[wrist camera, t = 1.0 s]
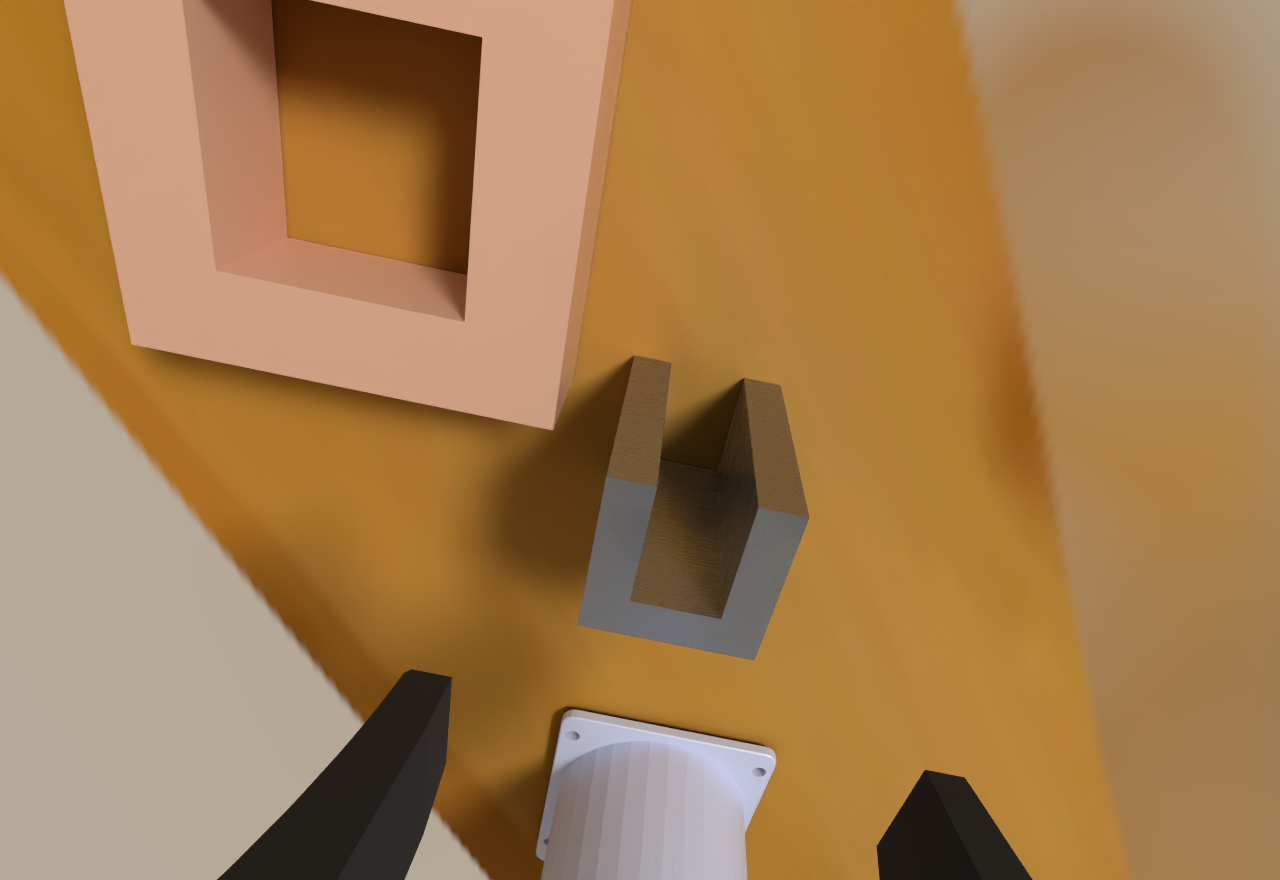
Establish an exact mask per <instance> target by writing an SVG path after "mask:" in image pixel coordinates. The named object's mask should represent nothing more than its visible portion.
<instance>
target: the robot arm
mask: <svg viewBox="0 0 1280 880" xmlns="http://www.w3.org/2000/svg"><path fill="white" fill-rule="evenodd" d="M451 682H452V677H448V676H443V675H437V674H432V673H427V672H422V671H417V670H412V669H411V670H409V671H407V672H405V673H404V674H403V675H402V676H401V678H400V679H399V680H398V682H397V683H396V684H395V686H394V687H393V688H392V690H391V691H390V692H389V694H388V695H387V696H386V698H385V699H384V700H383V701H382V703H381V704H380V705H379V706H378V708H377V709H376V710H375V711H374V713H373V714H372V715H371V716H370V718H369V719H368V720H367V721H366V722H365V724H364V725H363V726H362V727H361V728H360V730H359V731H358V732H357V733H356V734H355V736H354V737H353V738H352V739H351V740H350V742H348V744H347V745H346V746H345V747H344V748H343V750H342V751H341V752H340V753H339V754H338V755H337V756H336V757H335V759H334V760H333V761H332V762H331V763H330V764H329V765H328V766H327V767H326V768H325V770H324V771H323V772H322V773H321V774H320V775H319V776H318V777H317V779H315V780H314V782H313V783H312V784H311V785H310V786H309V787H308V788H307V789H306V790H305V792H304V793H303V794H302V795H301V796H300V797H299V798H298V799H297V800H296V801H295V803H294V804H292V806H291V807H290V808H289V809H288V810H287V811H286V812H285V813H284V814H283V815H282V816H281V817H280V818H279V819H278V820H277V821H276V822H275V823H274V824H273V825H272V826H271V827H270V828H269V829H268V830H267V831H266V832H265V833H264V834H263V835H262V836H261V837H260V838H259V839H258V840H257V841H256V842H255V843H254V844H253V845H252V846H251V847H250V848H249V849H248V850H247V851H246V852H245V853H244V854H243V855H242V856H241V857H240V858H239V859H238V860H237V861H236V862H235V863H234V864H233V865H232V866H231V867H230V868H229V869H228V870H227V871H226V872H225V873H224V874H223V875H222V876H221V877H220V878H219V879H217V880H404V879H405V877H406V874H407V872H408V870H409V867H410V865H411V862H412V860H413V858H414V855H415V853H416V850H417V848H418V846H419V843H420V841H421V839H422V836H423V834H424V830H425V827H426V824H427V821H428V818H429V815H430V812H431V809H432V806H433V803H434V799H435V796H436V793H437V790H438V787H439V783H440V780H441V777H442V774H443V771H444V767H445V764H446V754H447V739H448V725H449V711H450V696H451ZM775 766H776V755H775V753H774V751H773V750H772V749H770V748H768V747H765V746H759V745H754V744H749V743H744V742H739V741H734V740H729V739H724V738H719V737H714V736H709V735H704V734H698V733H693V732H688V731H683V730H678V729H673V728H668V727H663V726H658V725H653V724H648V723H643V722H637V721H632V720H627V719H622V718H617V717H612V716H607V715H602V714H597V713H592V712H587V711H582V710H569V711H567V712H565V713H564V715H563V717H562V722H561V727H560V732H559V737H558V742H557V747H556V752H555V757H554V762H553V767H552V772H551V777H550V782H549V787H548V792H547V798H546V803H545V808H544V813H543V818H542V823H541V828H540V833H539V838H538V843H537V848H536V855H537V856H538V858H539V859H541V860H543V861H544V866H543V871H542V876H541V880H747V866H746V845H745V831H746V829H747V827H748V825H749V823H750V820H751V818H752V816H753V814H754V812H755V809H756V807H757V805H758V803H759V801H760V799H761V796H762V794H763V792H764V790H765V788H766V785H767V783H768V781H769V779H770V777H771V775H772V772H773V770H774V768H775ZM877 855H878V866H879V877H880V880H1032V878H1031V877H1030V875H1029V874H1028V872H1027V871H1026V869H1025V868H1024V866H1023V865H1022V863H1021V862H1020V860H1019V859H1018V857H1017V856H1016V854H1015V853H1014V851H1013V850H1012V848H1011V847H1010V845H1009V844H1008V842H1007V841H1006V839H1005V838H1004V836H1003V835H1002V833H1001V832H1000V830H999V828H998V827H997V825H996V824H995V822H994V821H993V819H992V818H991V816H990V815H989V813H988V812H987V810H986V809H985V807H984V806H983V804H982V803H981V801H980V800H979V798H978V797H977V795H976V794H975V792H974V791H973V789H972V788H971V786H970V785H969V783H968V782H967V780H966V779H965V778H964V777H959V776H954V775H949V774H944V773H939V772H933V771H928V770H925V771H924V772H923V774H922V775H921V777H920V779H919V780H918V782H917V783H916V785H915V787H914V788H913V790H912V791H911V793H910V794H909V796H908V798H907V799H906V801H905V802H904V804H903V806H902V807H901V809H900V810H899V812H898V813H897V815H896V817H895V818H894V820H893V821H892V823H891V825H890V826H889V828H888V829H887V831H886V832H885V834H884V836H883V837H882V839H881V840H880V842H879V844H878V845H877Z"/></svg>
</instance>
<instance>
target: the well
mask: <svg viewBox="0 0 1280 880" xmlns="http://www.w3.org/2000/svg"><path fill="white" fill-rule="evenodd" d="M312 1H317V2H322V3H326V4H331V5H335V6H340V7H345V8H349V9H354V10H359V11H363V12H368V13H372V14H377V15H382V16H386V17H391V18H396V19H400V20H405V21H409V22H414V23H419V24H423V25H428V26H433V27H437V28H442V29H447V30H451V31H456V32H460V33H465V34H470V35H474V36H479V37H482V52H481V68H480V84H479V100H478V116H477V132H476V148H475V164H474V180H473V196H472V212H471V228H470V244H469V260H468V275H465V274H460V273H456V272H451V271H446V270H441V269H436V268H432V267H427V266H422V265H417V264H412V263H408V262H403V261H398V260H393V259H389V258H384V257H379V256H374V255H369V254H365V253H360V252H355V251H350V250H345V249H341V248H336V247H331V246H326V245H321V244H317V243H312V242H307V241H302V240H298V239H293V238H288V235H287V220H286V206H285V191H284V177H283V162H282V148H281V133H280V119H279V105H278V90H277V76H276V61H275V47H274V32H273V18H272V3H271V0H64V4H65V9H66V14H67V19H68V24H69V29H70V34H71V39H72V44H73V49H74V54H75V60H76V65H77V70H78V75H79V80H80V85H81V90H82V95H83V100H84V105H85V110H86V115H87V120H88V125H89V130H90V136H91V141H92V146H93V151H94V156H95V161H96V166H97V171H98V176H99V181H100V186H101V191H102V196H103V201H104V207H105V212H106V217H107V222H108V227H109V232H110V237H111V242H112V247H113V252H114V257H115V262H116V267H117V272H118V278H119V283H120V288H121V293H122V298H123V303H124V308H125V313H126V318H127V323H128V328H129V333H130V338H131V343H132V344H133V345H138V346H143V347H148V348H153V349H158V350H162V351H167V352H172V353H177V354H182V355H187V356H192V357H197V358H202V359H206V360H211V361H216V362H221V363H226V364H231V365H236V366H241V367H245V368H250V369H255V370H260V371H265V372H270V373H275V374H280V375H285V376H289V377H294V378H299V379H304V380H309V381H314V382H319V383H324V384H329V385H333V386H338V387H343V388H348V389H353V390H358V391H363V392H368V393H372V394H377V395H382V396H387V397H392V398H397V399H402V400H407V401H412V402H416V403H421V404H426V405H431V406H436V407H441V408H446V409H451V410H455V411H460V412H465V413H470V414H475V415H480V416H485V417H490V418H495V419H499V420H504V421H509V422H514V423H519V424H524V425H529V426H534V427H538V428H543V429H548V430H553V429H554V427H555V424H556V422H557V419H558V417H559V414H560V411H561V409H562V406H563V404H564V401H565V399H566V396H567V394H568V391H569V389H570V386H571V384H572V381H573V379H574V374H575V368H576V361H577V355H578V348H579V341H580V335H581V328H582V322H583V315H584V309H585V302H586V296H587V289H588V283H589V276H590V270H591V263H592V257H593V250H594V244H595V237H596V231H597V224H598V217H599V211H600V204H601V198H602V191H603V185H604V178H605V172H606V165H607V159H608V152H609V146H610V139H611V133H612V126H613V120H614V113H615V107H616V100H617V94H618V87H619V80H620V74H621V67H622V61H623V54H624V48H625V41H626V35H627V28H628V22H629V15H630V9H631V2H632V0H312Z"/></svg>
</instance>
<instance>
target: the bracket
mask: <svg viewBox="0 0 1280 880" xmlns="http://www.w3.org/2000/svg"><path fill="white" fill-rule="evenodd" d="M670 368H671V363H668V362H663V361H658V360H654V359H649V358H644V357H639V356H634V359H633V363H632V368H631V372H630V376H629V381H628V385H627V389H626V394H625V398H624V402H623V406H622V411H621V415H620V419H619V424H618V428H617V432H616V437H615V441H614V445H613V450H612V454H611V458H610V463H609V467H608V471H607V475H606V480H605V486H604V491H603V496H602V501H601V506H600V511H599V516H598V521H597V527H596V532H595V537H594V542H593V547H592V552H591V557H590V563H589V568H588V573H587V578H586V583H585V588H584V593H583V599H582V604H581V609H580V614H579V619H578V624H577V625H579V626H584V627H589V628H594V629H599V630H604V631H609V632H614V633H619V634H624V635H629V636H634V637H639V638H644V639H649V640H654V641H659V642H664V643H669V644H674V645H679V646H684V647H689V648H694V649H699V650H704V651H709V652H714V653H719V654H724V655H729V656H734V657H739V658H744V659H750V660H755V657H756V654H757V652H758V649H759V647H760V644H761V641H762V639H763V636H764V634H765V631H766V629H767V626H768V623H769V621H770V618H771V616H772V613H773V610H774V608H775V605H776V603H777V600H778V597H779V595H780V592H781V590H782V587H783V584H784V582H785V579H786V577H787V574H788V572H789V569H790V566H791V564H792V561H793V559H794V556H795V553H796V551H797V548H798V546H799V543H800V540H801V538H802V535H803V533H804V530H805V527H806V525H807V522H808V520H809V515H808V510H807V505H806V501H805V496H804V491H803V487H802V482H801V478H800V473H799V468H798V464H797V459H796V455H795V450H794V445H793V441H792V436H791V432H790V427H789V422H788V418H787V413H786V409H785V404H784V399H783V395H782V390H781V386H779V385H774V384H769V383H764V382H760V381H755V380H750V379H745V378H744V380H743V384H742V387H741V391H740V394H739V398H738V401H737V405H736V408H735V411H734V415H733V418H732V422H731V425H730V429H729V432H728V436H727V439H726V442H725V446H724V449H723V453H722V456H721V460H720V463H719V467H718V470H717V471H716V470H711V469H706V468H701V467H696V466H692V465H687V464H682V463H677V462H672V461H667V460H662V459H660V458H661V449H662V440H663V431H664V422H665V413H666V404H667V395H668V386H669V377H670Z"/></svg>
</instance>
